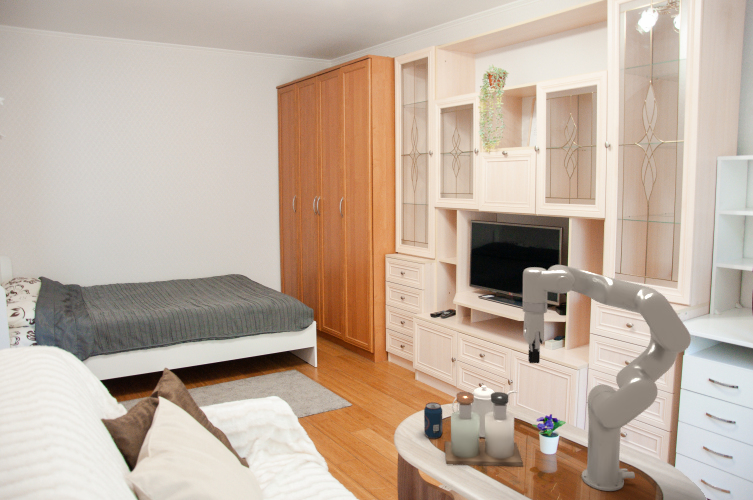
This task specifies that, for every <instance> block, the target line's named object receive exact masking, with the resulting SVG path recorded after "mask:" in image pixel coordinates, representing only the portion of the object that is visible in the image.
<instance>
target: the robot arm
mask: <svg viewBox="0 0 753 500" xmlns="http://www.w3.org/2000/svg"><path fill="white" fill-rule="evenodd" d="M571 291H572V292H576V293H578V294H581V295H583V296H585V297H588V298H590V299H592V300H593V301H595V302H597V303H600V304H602V305H605V306H610V307H613V308H618V309H621V310H626V311H628V312H629V311H630V312H632V313H637V314H639V315H640V316H642V318H643V320H644V321H645V322H646V325H647V326H648V327H649V334H650V341H649V343H648V345H647V347H646V348H645V350H644V351H643V352H641V354H639V355H638V356H637V357H636V358H634V359H633V360H631V361H630V362H629V363H628V364H627V365H625V366H624V367H622V369H621V370H619V371H618V373H617V375H616V377H615V378H616V380H615V381H616V384H617V387H618V389H617V390H616V389H615V388H613V387H612V386H610V385H608V384H597V385H595V386H594V387H593V388H592V389H591V390H590V391H589V393H588V396H587V415H588V433H587V459H586V460H587V463H586V468H585V469H584V470H582V472H581V479H582V481H583V482H584V483H585V484H586V485H588V486H589V487H591V488H593V489H597V490H599V491H600V490H601V491H605V492H613V491H618V490H620V489H622V488H623V487H624V486H625V485H624V483H625V481H624V480H625V479H627V478H628V479H635V477H636V476H635V475H636V474H635V472H634V471H629V470H628V468H620V448H621V428H623V427H624V426H627V425H628V424H629V423H630V422H631V421H633V420H634V419H636V418H637V417H638V416H640V415H641V414H642V413H643V412H645V411H646V410H648V408H650V407H651V406H652V405H653V404H654V402H655V401H656V400H657V397H658V392H659V391H658V385H657V384H656V382H657V380H659V379H661V377H662V376H664V375H665V374H666V373H667V372H668V371H669V370H671V368H672V367H673V365H674V364H675V362H676V359H677V358H678V354H679V353H682V352H685V351H686V350H687V349H688V348H689V347H690V344H691V341H692V339H691V333H690V332H689V330H688V328H687V327H686V326H685V324H684V322H683V321H682V319H681V318H680V316H679V315H678V314H677V312H676V311H675V309H674V308H673V306H672V305H671V303H670V302H669V300H668V298H667V297H665V295H664V294H662V293H660V292H659V291H658V290H656V289H655V288H653V287H649V286H646V285H642V284H638V283H634V282H629V281H625V280H622V279H616V278H615V277H614V278H613V277H610V276H606V275H602V274H598V273H594V272H590V271H587V270H583V269H580V268H575V267H572V266H567V265H562V264H555V265H551V266H550V267H549V268H548V269H546V268H543V267H537V266H536V267H535V266H534V267H531V266H530V267H527V268H525V269H523V272H522V312H523V313H524V316H523V329H522V330H523V332H522V334H523V338H524V340H525V342H526V343H527V344H528V362H529V364H540V357H541V354H540V353H541V352H540V348H541V345H543V344H544V341H545V314H547V313H548V293H554V294H567V293H569V292H571Z"/></svg>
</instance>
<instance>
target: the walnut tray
mask: <svg viewBox="0 0 753 500" xmlns="http://www.w3.org/2000/svg"><path fill="white" fill-rule="evenodd" d="M444 453H445V464H453V465H452V466H488V467H489V466H497V467H523V466H524V465H523V464H524V462H523V459H522V456H521V452H520V450H519V447H518V444H517V442H514V454H513V456H512V457H510V458H506V459H498V458H493V457H490V456H489V455H487V454H486V453H485V441H479V454H478V455H477V456H475V457H472V458H461V457H457V456H455V455H454V454H453V453H452V452H451V440H449V441H444Z"/></svg>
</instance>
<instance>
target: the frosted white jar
mask: <svg viewBox="0 0 753 500" xmlns="http://www.w3.org/2000/svg"><path fill="white" fill-rule="evenodd" d="M484 442H485V453H486V454H487V455H489V456H490V457H493V458H498V459H506V458H510V457H512V456H513V454H514V443H515V416H514V415H513V414H512V413H509V412H507V409H506V404H502V405H497V404H495V403H493V411H491V412H488V413H487V414H486V415H485V438H484Z"/></svg>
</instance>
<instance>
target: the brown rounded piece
mask: <svg viewBox="0 0 753 500" xmlns="http://www.w3.org/2000/svg"><path fill="white" fill-rule="evenodd" d="M456 398H457V399H456V402H457V404H458V403H461V404H470V403H471V404H472V403H473V402H474V395H473V394H472V392H468V391H459V392H457V393H456Z"/></svg>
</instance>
